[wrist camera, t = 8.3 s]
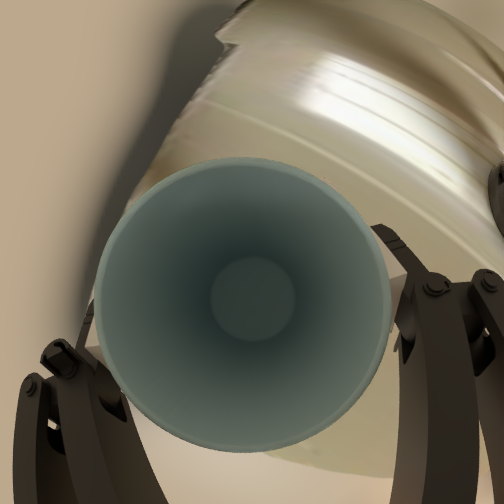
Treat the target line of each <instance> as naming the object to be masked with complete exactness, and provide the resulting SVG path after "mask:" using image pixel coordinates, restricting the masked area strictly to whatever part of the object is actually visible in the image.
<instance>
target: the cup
mask: <svg viewBox="0 0 504 504" xmlns="http://www.w3.org/2000/svg"><path fill="white" fill-rule="evenodd" d="M391 315H392V299H391V288H390V281H389V276H388V272H387V268H386V264H385V261H384V258H383V255H382V252H381V250H380V247H379V245H378V243H377V241H376V239H375V237H374V235H373V234H372V232H371V230H370V228H369V227H368V225H367V224H366V222H365V221H364V219H363V218H362V217H361V215H360V214H359V213H358V212H357V211H356V209H355V208H354V207H353V206H352V205H351V204H350V203H349V202H348V201H347V200H346V199H345V198H344V197H343V196H342V195H341V194H340V193H338V192H337V191H336V190H335V189H333V188H332V187H331V186H329V185H328V184H327V183H325V182H324V181H322V180H320V179H319V178H317V177H315V176H313V175H312V174H310V173H307V172H305V171H303V170H301V169H299V168H296V167H294V166H291V165H288V164H285V163H282V162H277V161H273V160H268V159H262V158H250V157H233V158H222V159H215V160H209V161H205V162H201V163H198V164H195V165H192V166H190V167H187V168H185V169H182V170H180V171H178V172H176V173H174V174H172V175H170V176H168V177H166V178H165V179H163V180H161V181H160V182H158V183H157V184H155V185H154V186H153V187H151V188H150V189H149V190H148V191H146V192H145V193H144V194H143V195H142V196H141V197H140V198H138V199H137V201H136V202H135V203H134V204H133V205H132V206H131V207H130V208H129V209H128V211H127V212H126V213H125V214H124V215H123V217H122V218H121V220H120V221H119V222H118V224H117V226H116V227H115V229H114V231H113V233H112V234H111V236H110V238H109V240H108V242H107V244H106V246H105V249H104V251H103V254H102V257H101V260H100V264H99V267H98V271H97V276H96V281H95V290H94V318H95V326H96V331H97V337H98V340H99V344H100V348H101V351H102V354H103V356H104V359H105V361H106V364H107V366H108V368H109V370H110V372H111V374H112V376H113V378H114V379H115V381H116V382H117V384H118V385H119V387H120V388H121V390H122V391H123V393H124V394H125V395H126V396H127V398H128V399H129V400H130V401H131V402H132V403H133V404H134V406H135V407H136V408H137V409H138V410H139V411H140V412H141V413H142V414H144V415H145V416H146V417H147V418H148V419H149V420H151V421H152V422H153V423H155V424H156V425H157V426H159V427H160V428H162V429H164V430H165V431H167V432H169V433H171V434H172V435H174V436H176V437H178V438H180V439H182V440H185V441H187V442H189V443H192V444H195V445H197V446H201V447H204V448H208V449H213V450H218V451H225V452H234V453H253V452H264V451H270V450H275V449H280V448H284V447H287V446H290V445H293V444H296V443H299V442H301V441H303V440H305V439H308V438H310V437H312V436H314V435H316V434H317V433H319V432H321V431H322V430H324V429H326V428H327V427H329V426H330V425H331V424H333V423H334V422H336V421H337V420H338V419H339V418H340V417H341V416H343V415H344V414H345V413H346V412H347V411H348V410H349V409H350V408H351V407H352V406H353V405H354V404H355V402H356V401H357V400H358V399H359V398H360V396H361V395H362V394H363V393H364V391H365V390H366V388H367V387H368V385H369V384H370V382H371V381H372V379H373V377H374V375H375V373H376V371H377V369H378V367H379V365H380V362H381V360H382V358H383V355H384V352H385V348H386V345H387V341H388V336H389V331H390V325H391Z"/></svg>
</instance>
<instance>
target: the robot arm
mask: <svg viewBox="0 0 504 504" xmlns="http://www.w3.org/2000/svg"><path fill="white" fill-rule="evenodd" d="M319 179H320V180H322V181H324V182H325V183H327V184H328V185H329V186H331V187H332V188H333V189H335V188H334V186H333V185H332V184H331V183H330V182H329V181H328V180H327V179H326V178H325V177H324V178H319ZM488 189H489V199H490V204H491V208H492V212H493V215H494V218H495V220H496V223H497V225H498V227H499V229H500V231H501V233H502V235H503V236H504V161H502V162H501V163H499V164H497V165H496V166H494V167H493V169H492V170H491V173H490V176H489V183H488ZM335 190H336V189H335ZM336 191H337V190H336ZM337 192H338V191H337ZM338 193H339V192H338ZM364 221H365V220H364ZM366 224H367V223H366ZM367 225H368V224H367ZM368 227H369V228H370V230H371V232H372V234H373V235H374V237H375V239H376V241H377V243H378V245H379V247H380V250H381V252H382V255H383V258H384V261H385V264H386V268H387V272H388V276H389V281H390V288H391V299H392V315H391V325H390V331H389V333H391V332H392V329H393V326H394V323H396V325H397V327H398V329H399V330H400V332H399V335H398V338H397V340H396V343H395V346H394V351H393V352H396V351H397V349H398V350H399V377H400V404H399V430H398V444H397V455H396V464H395V472H394V480H393V487H392V492H391V498H390V504H475V501H476V494H477V485H478V473H479V421H480V425H481V428H482V432H483V436H484V441H485V445H486V450H487V455H488V460H489V465H490V471H491V478H492V485H493V493H494V504H504V281H503V279H502V278H501V277H500V276H499V275H498V274H497V273H495V272H494V271H492V270H488V269H480V270H478V271H476V272H475V274H474V275H473V278H472V280H471V282H459V283H451V281H450V280H449V279H447V278H446V277H445V276H443V275H441V274H439V273H434V272H429V271H428V270H427V269H426V268H425V266H424V265H423V264H422V263H421V261H420V260H419V259H418V258H417V257H416V256H415V254H414V253H413V252H412V251H411V250H410V249H409V247H407V246H406V244H405V243H404V242H403V241H402V240H400V237H399V236H398V235H397V234H396V233H395V232H394V231H393V230H392V229H390V228H388V227H387V226H385V225H383V224H378V225H374V226H369V225H368ZM485 328H487V330H488V332H489V335H488V334H487V333H486V331H485ZM40 363H41V364H42V365H43V366H44V367H45V368H47V369H48V370H49V371H50V372H51V373H52V374H54V376H52V377H49V378H47V379H44V378H42V377H41V376H40V375H39V374H38V373H31V374H29V375H28V376H27V377H26V378H25V379H24V381H23V383H22V385H21V388H20V393H19V399H18V407H17V413H16V422H15V431H14V444H13V493H14V504H169V503H168V502H167V500H166V498H165V496H164V494H163V491H162V489H161V487H160V485H159V483H158V481H157V479H156V476H155V474H154V472H153V470H152V468H151V465H150V463H149V460H148V458H147V455H146V453H145V450H144V448H143V445H142V442H141V440H140V437H139V434H138V432H137V429H136V426H135V423H134V420H133V417H132V414H131V411H130V407H129V404H128V401H127V398H126V396H125V394H123V393H122V392H121V388H120V387H119V385H118V384H117V382H116V381H115V379H114V378H113V376H112V374H111V372H110V370H109V368H108V366H107V364H106V361H105V359H104V356H103V354H102V351H101V348H100V344H99V340H98V337H97V331H96V326H95V318H94V299H93V300H92V302H91V303H90V304H89V307H88V310H87V313H86V317H85V319H84V322H83V325H82V328H81V331H80V334H79V338H78V341H77V344H76V348H75V349H74V348H73V347H71V345H70V344H69V343H68V342H67V341H66V340H65V339H60V338H59V339H56V340H54V341H52V342H51V343H50V344H49V345H48V346H47V347H46V348H45V350H44V351H43V354H42V355H41V360H40ZM48 419H49V420H51V421H53V422H54V423H56V424H57V426H56V429H52V428H51V427H49V426H48Z"/></svg>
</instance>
